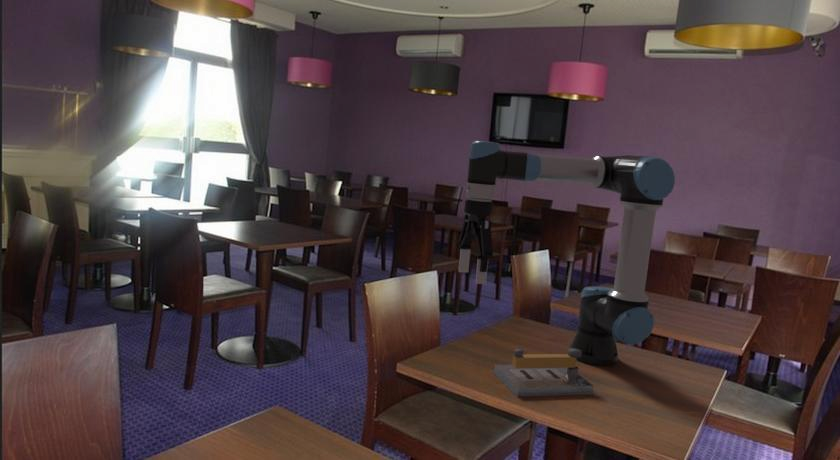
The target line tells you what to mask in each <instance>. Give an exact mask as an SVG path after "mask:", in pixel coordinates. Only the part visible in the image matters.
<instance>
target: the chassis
mask: <svg viewBox="0 0 840 460" xmlns="http://www.w3.org/2000/svg"><path fill="white" fill-rule="evenodd" d="M493 374H494V375H495V376H496V378H498V379H499V380H500V381H501V382H502V383H503V384H504V385H505V386H506V387H507V388H508V390H510V391H511V392H512V393H513V394H514V395H515V396H516V397H517V398H518V397H519V398H521V397H522V398H523V397H554V396H557V397H559V396H562V397H563V396H587V395H588V396H590V395H593V393H594V388H595V386H594V385H593V384H592V383H591V382H589V381H588V380H587V379H585V378H584V377H583V376H581V374H579V367H578V366H576V367H575V368H515V367H514V366H512V364H494V369H493Z"/></svg>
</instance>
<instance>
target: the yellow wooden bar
mask: <svg viewBox="0 0 840 460" xmlns="http://www.w3.org/2000/svg"><path fill="white" fill-rule="evenodd" d="M581 354H582V351H581V350H579V349H575V348H570V349H569V348H568V350H567V353H551V354H550V353H549V354H547V353H545V354H544V353H541V354H540V353H539V354H537V353H535V354H532V353H531V354H525V353H524V350H523V349H520V348H515V349H514V352H513V354H512V362H511V365H512V366H514V367H515V368H575V367H577V366H576V365H577V360H576V359H577V358H580V357H581Z"/></svg>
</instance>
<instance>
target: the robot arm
mask: <svg viewBox="0 0 840 460" xmlns="http://www.w3.org/2000/svg"><path fill="white" fill-rule="evenodd" d="M469 150H470V151H469V155H468V171H467V172H468V173H467V179H466V180H467V181H466V186H465V187H464V190H466V192H465V197H466V199H465V200H464V210H463V211H464V213H465V214H464V219H463V224H462V227H461V232H460V233H459V238H458V241H457V245H458V246H459V248H460V250H459V260H458V261H459V263H458V273H469V271H470V270H469V267H470V259H471V249H472V243H473V241H474V239H476V246H477V252H478V256H477V257H476V259H477V261H476V262H477V263H476V271H475V273H476V274H475V281H474V283H475V284H476V285H487V276H488V266H489V260H490V259H493V257H494V253H493V241H492V221H491V220H487V216H488V217H490V216H492V215H493V212H494V211H493V210H494V202H493V201H492V200H495V195H496V194H495V193H496V184H497V179H499V180H501V179H503V180H512V181H522V182H533V181H545V182H546V181H547V182H559V183H573V184H583V185H589V186H590V188H595V189H600V190H607V191H611V192H613V193H614V192H615V193H617V194H620V195H619V196H620V198H619V202H620V204H621V205H622V206H623V208H624V209H623V217H622V223H621V230H620V231H621V232H620V239H619V246H618V253H617V254H618V255H617V259H616V260H617V261H616V268H615V276H614V283H613V287H607V286H585V287H583V289H582V291H581V295H580V305H579V311H578V313H579V314H578V321H577V328H576V333H575V334H574V336H573V338H572V340H571V343H570V345H569V348H568V349H570V348H575V349H579V350H581V351H582V354H581V357H580V358H577V359H576V361H577V362H581V363H584V364H588V365H593V366H601V367H604V366H606V367H607V366H614V365H616V364H618V359H619V353H618V349H617V344H616V341H618V342H620V343H621V342H622V343H624V344H626V345H637V344H639V343H642V342H643V341H645V339H648V337H649V336H650V335H651V333H652V332H653V330H654V326H655V318H654V315H653V314H652V312H651V311H650V310H649V309H648V308H649V300H650V299H649V296H648V295H647V294H646V293H645V291H646V285H647V284H646V283H647V277H648V270H649V261H650V254H651V247H652V241H653V235H654V227H655V219H656V212H657V210H659V209H660V208H662V207H663V203H664V199H665V198H667V197H668V196H670V195H669V194H671V193H672V191H673V189H674V188H675V187H674V186H675V184H676V183H675V182H676V181H675V180H676V177H675V173H674V169H673V168H672V167H671V165H670V164H669V162H667V161H666V160H665V159H662V158H660V157H655V156H652V155H649V156H648V155H647V156H646V155H627V154H626V155H615V156H613V155H612V156H598V155H596V156H593V157H592V158H585V157H572V156H562V155H551V154H540V153H539V154H538V153H532V152H525V151H523V152H522V151H521V152H520V151H508V150H507V151H506V150H502V149H501V148H500V143H499V142H497V141H496V142H494V141H485V140H474V141H472V142H471V145H470V149H469Z"/></svg>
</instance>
